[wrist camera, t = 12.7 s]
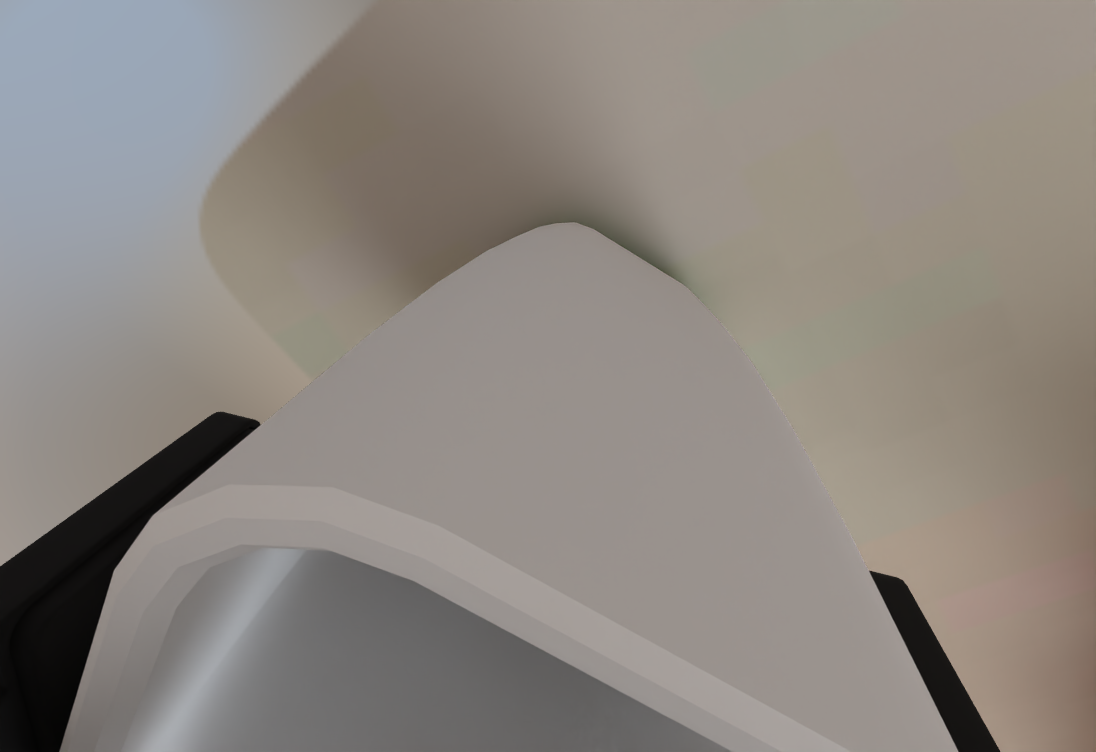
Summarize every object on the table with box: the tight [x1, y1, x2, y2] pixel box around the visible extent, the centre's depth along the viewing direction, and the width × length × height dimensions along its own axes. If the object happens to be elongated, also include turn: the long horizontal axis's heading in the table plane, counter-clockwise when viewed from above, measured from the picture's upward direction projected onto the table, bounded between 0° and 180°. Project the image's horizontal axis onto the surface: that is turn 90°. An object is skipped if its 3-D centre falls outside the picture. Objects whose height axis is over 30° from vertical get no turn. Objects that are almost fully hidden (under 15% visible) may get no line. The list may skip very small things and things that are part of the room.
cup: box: [59, 222, 958, 752], centre depth 12 cm, size 7×7×15 cm
